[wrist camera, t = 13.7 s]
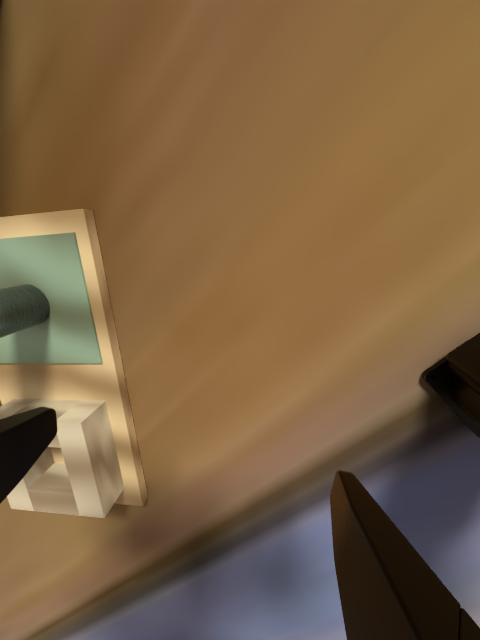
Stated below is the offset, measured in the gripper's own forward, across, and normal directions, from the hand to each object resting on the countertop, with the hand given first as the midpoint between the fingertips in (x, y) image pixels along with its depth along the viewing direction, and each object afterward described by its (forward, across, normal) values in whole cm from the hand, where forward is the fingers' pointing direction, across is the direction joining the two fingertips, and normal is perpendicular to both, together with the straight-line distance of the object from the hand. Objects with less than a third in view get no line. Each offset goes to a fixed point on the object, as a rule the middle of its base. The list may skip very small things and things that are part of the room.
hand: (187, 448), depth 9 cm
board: (+13, +16, +7) cm, 21 cm away
